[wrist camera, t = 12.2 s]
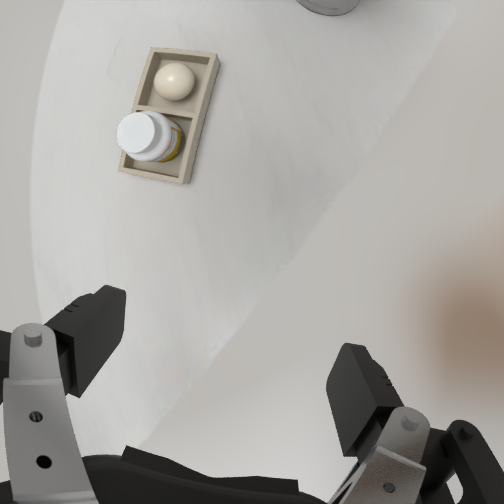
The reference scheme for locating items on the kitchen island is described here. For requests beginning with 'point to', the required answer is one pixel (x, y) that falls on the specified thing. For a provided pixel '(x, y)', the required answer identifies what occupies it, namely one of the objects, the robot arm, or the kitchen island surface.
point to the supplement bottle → (150, 137)
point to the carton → (174, 111)
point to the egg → (174, 81)
